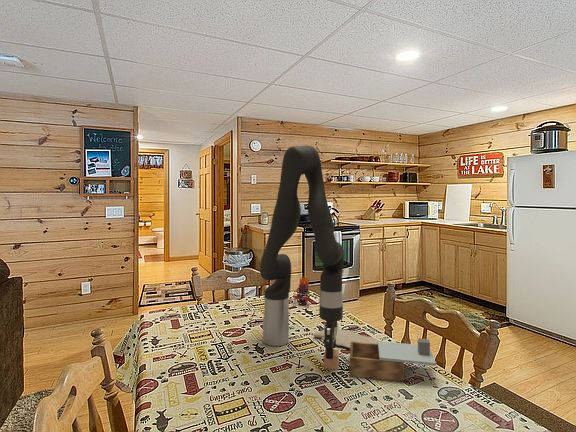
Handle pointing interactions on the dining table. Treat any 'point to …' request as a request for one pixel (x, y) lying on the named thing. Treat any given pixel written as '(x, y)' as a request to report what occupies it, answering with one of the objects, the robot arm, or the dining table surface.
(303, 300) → the figurine
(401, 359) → the lid
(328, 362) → the cube
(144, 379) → the dining table surface
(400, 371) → the brown wooden box
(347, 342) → the stone tool
